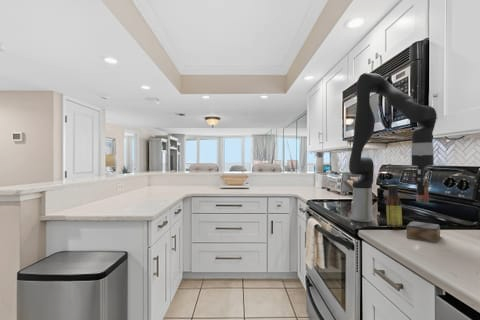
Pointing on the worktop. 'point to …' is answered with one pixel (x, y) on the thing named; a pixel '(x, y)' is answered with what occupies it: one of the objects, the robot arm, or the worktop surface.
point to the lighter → (424, 197)
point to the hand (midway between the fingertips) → (422, 193)
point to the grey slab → (423, 231)
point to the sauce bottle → (393, 207)
